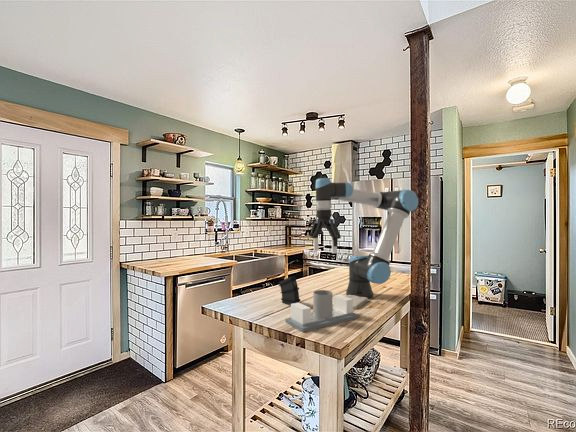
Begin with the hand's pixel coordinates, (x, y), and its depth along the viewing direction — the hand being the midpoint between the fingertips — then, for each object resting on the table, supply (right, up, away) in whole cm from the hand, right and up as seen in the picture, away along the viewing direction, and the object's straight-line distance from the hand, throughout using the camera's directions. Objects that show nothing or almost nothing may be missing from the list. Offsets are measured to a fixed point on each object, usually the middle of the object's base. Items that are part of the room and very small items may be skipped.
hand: (325, 251), depth 150 cm
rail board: (-3, -28, -17) cm, 33 cm away
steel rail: (-3, -27, -17) cm, 32 cm away
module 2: (+7, -26, -11) cm, 29 cm away
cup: (-3, -26, -17) cm, 31 cm away
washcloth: (+15, -29, +8) cm, 34 cm away
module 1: (-13, -26, -23) cm, 37 cm away
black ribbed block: (-18, -28, +7) cm, 34 cm away
